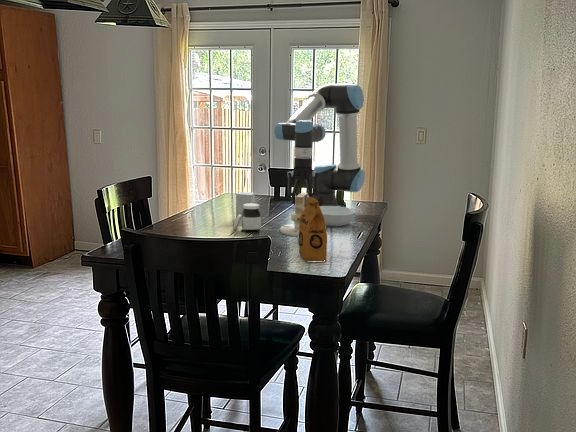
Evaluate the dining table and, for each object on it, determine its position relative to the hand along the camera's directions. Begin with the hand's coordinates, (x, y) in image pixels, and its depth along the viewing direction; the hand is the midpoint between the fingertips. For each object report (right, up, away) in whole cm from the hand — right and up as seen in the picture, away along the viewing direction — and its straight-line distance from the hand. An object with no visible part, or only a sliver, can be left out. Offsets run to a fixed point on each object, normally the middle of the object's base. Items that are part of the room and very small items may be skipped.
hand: (301, 211), depth 247 cm
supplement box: (-26, -4, +24) cm, 36 cm away
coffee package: (+3, -18, -39) cm, 43 cm away
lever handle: (0, -4, 0) cm, 4 cm away
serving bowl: (+15, -6, +18) cm, 24 cm away
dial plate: (0, -9, +2) cm, 9 cm away
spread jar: (-24, -9, +2) cm, 26 cm away
